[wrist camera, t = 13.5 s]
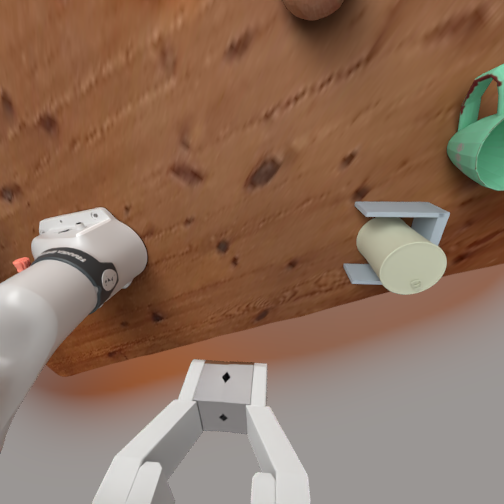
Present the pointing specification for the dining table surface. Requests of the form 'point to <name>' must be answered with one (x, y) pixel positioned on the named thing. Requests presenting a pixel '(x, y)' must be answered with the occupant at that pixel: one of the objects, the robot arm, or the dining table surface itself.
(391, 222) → the can
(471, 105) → the mug
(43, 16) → the dining table surface
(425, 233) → the holder
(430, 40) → the dining table surface
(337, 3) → the onion
